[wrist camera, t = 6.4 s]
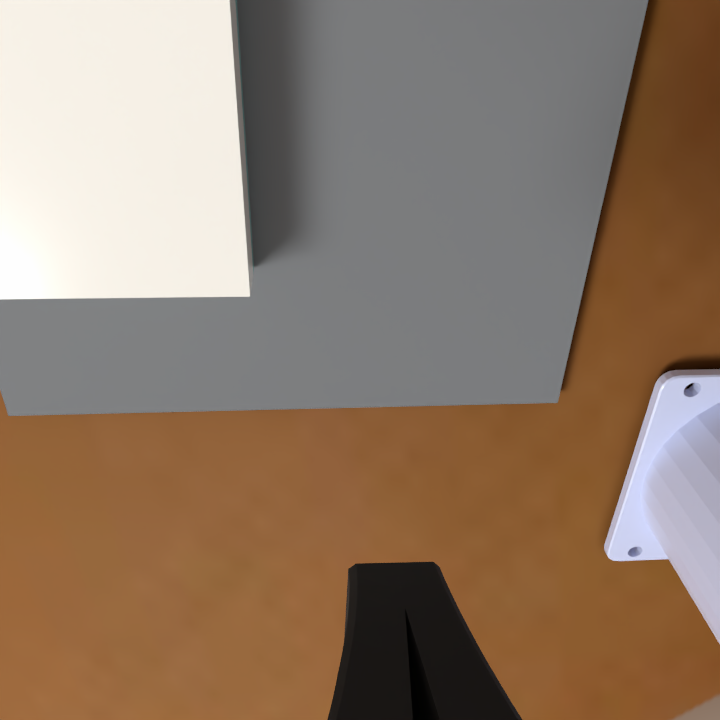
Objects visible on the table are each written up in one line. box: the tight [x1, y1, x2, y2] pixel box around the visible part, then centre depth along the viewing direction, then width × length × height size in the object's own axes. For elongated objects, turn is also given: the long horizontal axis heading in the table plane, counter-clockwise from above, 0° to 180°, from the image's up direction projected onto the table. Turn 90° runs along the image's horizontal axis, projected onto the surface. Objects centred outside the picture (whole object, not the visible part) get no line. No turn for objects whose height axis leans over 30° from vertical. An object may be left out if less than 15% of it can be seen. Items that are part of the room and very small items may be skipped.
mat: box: [0, 0, 648, 416], centre depth 15 cm, size 16×18×1 cm
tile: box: [0, 0, 254, 299], centre depth 14 cm, size 2×9×6 cm
